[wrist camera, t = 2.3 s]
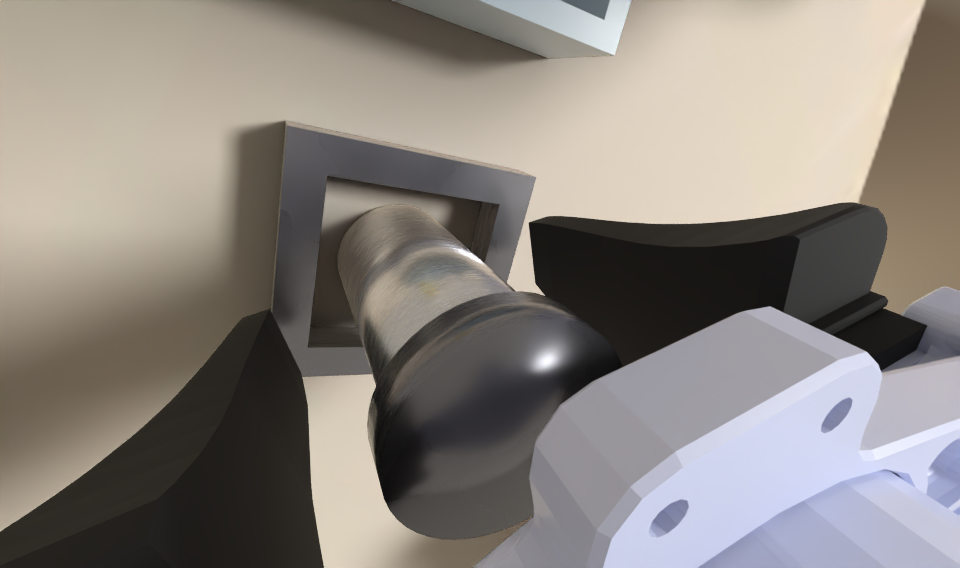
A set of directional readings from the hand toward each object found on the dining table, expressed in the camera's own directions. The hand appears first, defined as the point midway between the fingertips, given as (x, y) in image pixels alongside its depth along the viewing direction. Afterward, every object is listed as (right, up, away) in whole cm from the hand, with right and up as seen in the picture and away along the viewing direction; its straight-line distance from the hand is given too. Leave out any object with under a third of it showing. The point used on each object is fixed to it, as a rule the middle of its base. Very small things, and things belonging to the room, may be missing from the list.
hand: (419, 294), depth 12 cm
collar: (-1, +1, +2) cm, 3 cm away
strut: (-1, +1, +2) cm, 3 cm away
